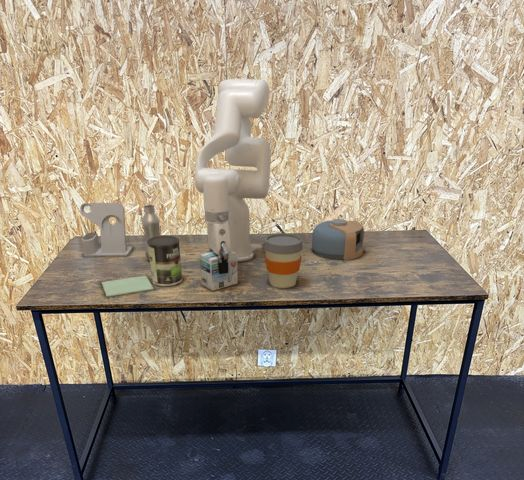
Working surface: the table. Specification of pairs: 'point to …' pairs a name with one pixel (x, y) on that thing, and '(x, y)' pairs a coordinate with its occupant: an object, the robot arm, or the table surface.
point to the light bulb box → (211, 272)
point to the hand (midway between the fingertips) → (219, 268)
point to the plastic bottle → (150, 225)
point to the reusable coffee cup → (283, 259)
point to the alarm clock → (338, 239)
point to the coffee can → (165, 260)
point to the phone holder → (105, 230)
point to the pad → (127, 286)
